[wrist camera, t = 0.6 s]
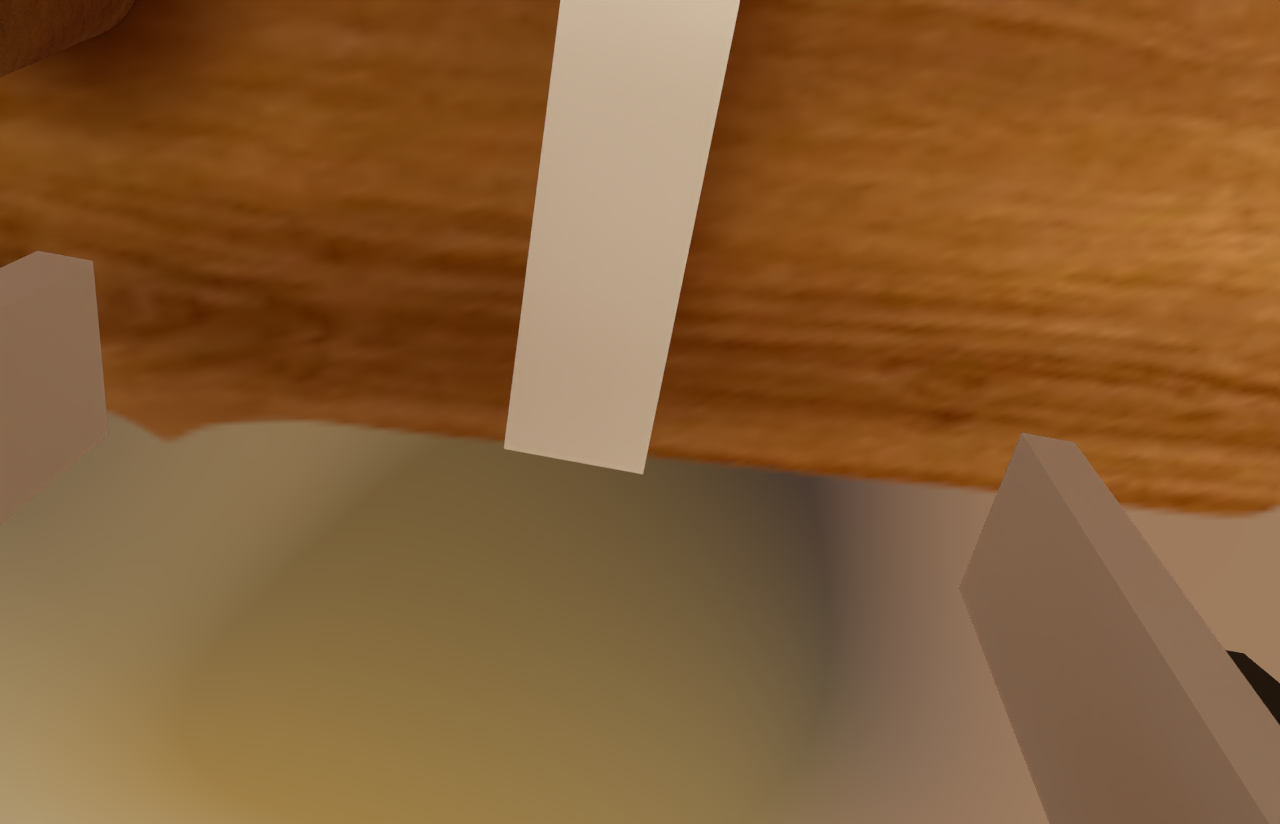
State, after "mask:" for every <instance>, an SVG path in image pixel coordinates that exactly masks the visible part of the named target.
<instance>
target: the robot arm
mask: <svg viewBox="0 0 1280 824" xmlns="http://www.w3.org/2000/svg"><path fill="white" fill-rule="evenodd" d="M108 434H109V433H108V422H107V411H106V400H105V389H104V378H103V367H102V356H101V345H100V334H99V323H98V312H97V300H96V289H95V278H94V267H93V261H91V260H85V259H80V258H75V257H69V256H64V255H58V254H53V253H48V252H42V251H36V252H34V253H31V254H29V255H27V256H25V257H23V258H21V259H19V260H17V261H14V262H12V263H10V264H8V265H6V266H4V267H2V268H0V524H1V523H3V522H4V521H5V520H6V519H7V518H8V517H10V516H11V515H12V514H13V513H15V512H16V511H17V510H18V509H19V508H20V507H22V506H23V505H24V504H25V503H27V502H28V501H29V500H30V499H31V498H33V497H34V496H35V495H36V494H37V493H39V492H40V491H41V490H42V489H43V488H45V487H46V486H47V485H48V484H49V483H51V482H52V481H53V480H54V479H55V478H57V477H58V476H59V475H60V474H62V473H63V472H64V471H65V470H66V469H67V468H69V467H70V466H71V465H72V464H73V463H75V462H76V461H77V460H78V459H79V458H81V457H82V456H83V455H84V454H86V453H87V452H88V451H89V450H90V449H91V448H93V447H94V446H95V445H96V444H97V443H99V442H100V441H101V440H102V439H104V438H105V437H106V436H107V435H108ZM959 590H960V593H961V595H962V598H963V600H964V603H965V606H966V608H967V611H968V613H969V616H970V619H971V621H972V624H973V626H974V629H975V632H976V634H977V637H978V639H979V642H980V644H981V647H982V650H983V652H984V655H985V658H986V660H987V663H988V665H989V668H990V670H991V673H992V676H993V678H994V681H995V684H996V686H997V688H998V691H999V694H1000V697H1001V699H1002V701H1003V704H1004V707H1005V709H1006V712H1007V715H1008V717H1009V720H1010V722H1011V725H1012V728H1013V730H1014V733H1015V735H1016V738H1017V741H1018V743H1019V746H1020V748H1021V751H1022V754H1023V756H1024V759H1025V761H1026V764H1027V767H1028V769H1029V772H1030V774H1031V777H1032V780H1033V782H1034V785H1035V787H1036V790H1037V793H1038V795H1039V798H1040V800H1041V803H1042V806H1043V808H1044V811H1045V813H1046V816H1047V819H1048V821H1049V824H1280V683H1279V682H1278V681H1276V680H1275V679H1274V678H1273V677H1272V676H1270V675H1269V674H1268V673H1267V672H1266V671H1264V670H1263V669H1262V668H1261V667H1259V666H1258V665H1257V664H1256V663H1255V662H1253V661H1252V660H1251V659H1250V658H1248V657H1247V656H1246V655H1245V654H1243V653H1238V652H1233V651H1227V650H1225V649H1224V648H1223V646H1222V645H1221V644H1220V642H1219V641H1218V639H1217V638H1216V637H1215V635H1214V634H1213V633H1212V631H1211V630H1210V628H1209V627H1208V626H1207V624H1206V623H1205V622H1204V620H1203V619H1202V618H1201V616H1200V615H1199V613H1198V612H1197V610H1196V609H1195V608H1194V606H1193V605H1192V604H1191V602H1190V601H1189V600H1188V598H1187V597H1186V595H1185V594H1184V593H1183V591H1182V590H1181V588H1180V587H1179V586H1178V584H1177V583H1176V582H1175V580H1174V579H1173V577H1172V576H1171V575H1170V574H1169V572H1168V570H1167V569H1166V568H1165V566H1164V565H1163V564H1162V563H1161V561H1160V559H1159V558H1158V557H1157V555H1156V554H1155V553H1154V551H1153V550H1152V548H1151V547H1150V546H1149V544H1148V543H1147V541H1146V540H1145V539H1144V537H1143V536H1142V535H1141V533H1140V532H1139V530H1138V529H1137V528H1136V526H1135V525H1134V524H1133V522H1132V521H1131V520H1130V518H1129V517H1128V515H1127V514H1126V513H1125V511H1124V510H1123V508H1122V507H1121V506H1120V504H1119V503H1118V501H1117V500H1116V499H1115V497H1114V496H1113V495H1112V493H1111V492H1110V490H1109V489H1108V488H1107V486H1106V485H1105V484H1104V482H1103V481H1102V479H1101V478H1100V477H1099V475H1098V474H1097V473H1096V471H1095V470H1094V468H1093V467H1092V466H1091V464H1090V463H1089V461H1088V460H1087V459H1086V457H1085V456H1084V455H1083V453H1082V452H1081V450H1080V449H1079V448H1078V446H1077V445H1076V444H1075V442H1070V441H1064V440H1059V439H1054V438H1048V437H1043V436H1037V435H1032V434H1027V433H1021V435H1020V438H1019V440H1018V443H1017V445H1016V448H1015V450H1014V453H1013V455H1012V458H1011V460H1010V463H1009V465H1008V468H1007V470H1006V473H1005V475H1004V478H1003V480H1002V483H1001V485H1000V487H999V490H998V492H997V495H996V497H995V500H994V502H993V505H992V507H991V510H990V513H989V515H988V517H987V520H986V522H985V525H984V527H983V530H982V532H981V535H980V537H979V540H978V542H977V545H976V547H975V550H974V552H973V555H972V557H971V560H970V562H969V565H968V567H967V570H966V572H965V575H964V577H963V579H962V582H961V584H960V587H959Z"/></svg>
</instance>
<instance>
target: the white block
mask: <svg viewBox="0 0 1280 824" xmlns="http://www.w3.org/2000/svg"><path fill="white" fill-rule="evenodd" d="M739 4H740V0H560V8H559V16H558V24H557V32H556V40H555V48H554V56H553V64H552V71H551V79H550V87H549V95H548V103H547V111H546V119H545V127H544V135H543V143H542V151H541V158H540V166H539V174H538V182H537V190H536V198H535V206H534V214H533V222H532V230H531V238H530V245H529V253H528V261H527V269H526V277H525V285H524V293H523V301H522V309H521V317H520V324H519V332H518V340H517V348H516V356H515V364H514V372H513V380H512V388H511V396H510V404H509V411H508V419H507V427H506V435H505V443H504V449H507V450H513V451H518V452H524V453H529V454H534V455H540V456H546V457H551V458H556V459H562V460H567V461H573V462H578V463H584V464H589V465H595V466H600V467H606V468H611V469H617V470H623V471H628V472H633V473H639V474H643V471H644V466H645V462H646V457H647V452H648V447H649V442H650V437H651V432H652V428H653V423H654V418H655V413H656V408H657V403H658V398H659V393H660V389H661V384H662V379H663V374H664V369H665V364H666V359H667V354H668V350H669V345H670V340H671V335H672V330H673V325H674V320H675V315H676V311H677V306H678V301H679V296H680V291H681V286H682V281H683V276H684V272H685V267H686V262H687V257H688V252H689V247H690V242H691V237H692V233H693V228H694V223H695V218H696V213H697V208H698V203H699V199H700V194H701V189H702V184H703V179H704V174H705V169H706V164H707V160H708V155H709V150H710V145H711V140H712V135H713V130H714V125H715V121H716V116H717V111H718V106H719V101H720V96H721V91H722V86H723V82H724V77H725V72H726V67H727V62H728V57H729V52H730V47H731V43H732V38H733V33H734V28H735V23H736V18H737V13H738V8H739Z"/></svg>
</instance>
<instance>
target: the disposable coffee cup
mask: <svg viewBox="0 0 1280 824" xmlns="http://www.w3.org/2000/svg"><path fill="white" fill-rule="evenodd" d="M134 2H135V0H0V77H2V76H4V75H6V74H8V73H11V72H13V71H15V70H18V69H20V68H23V67H25V66H27V65H29V64H30V65H31V64H33V63H35V62H37V61H39V60H41V59H43V58H46V57H48V56H50V55H53V54H55V53H57V52H59V51H62V50H64V49H67V48H69V47H71V46H73V45H75V44H78V43H80V42H82V41H85V40H87V39H90V38H93V37H96V36H98V35H100V34H102V33H105V32H107V31H108V30H110V29H112V28H113V27H114V26H115V25H116V24H118V23H119V22H120V21H121V20H122V19H123V18H124V17H125V16H126V15H127V13H128V12H129V11H130V9H131V8H132V6H133V4H134Z"/></svg>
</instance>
